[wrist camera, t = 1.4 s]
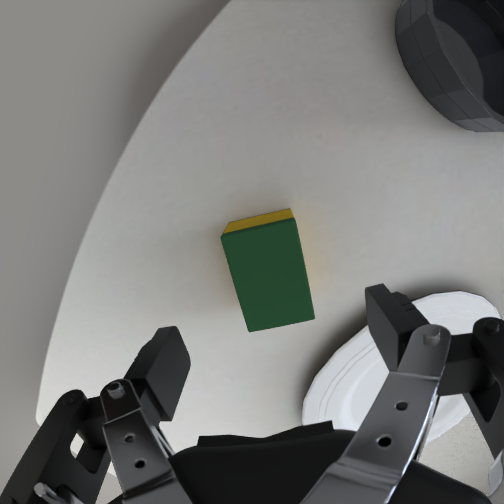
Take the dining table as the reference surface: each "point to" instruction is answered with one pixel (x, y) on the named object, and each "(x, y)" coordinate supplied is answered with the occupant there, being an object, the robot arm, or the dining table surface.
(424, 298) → the plate
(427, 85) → the black bowl
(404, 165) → the dining table surface
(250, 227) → the sponge
